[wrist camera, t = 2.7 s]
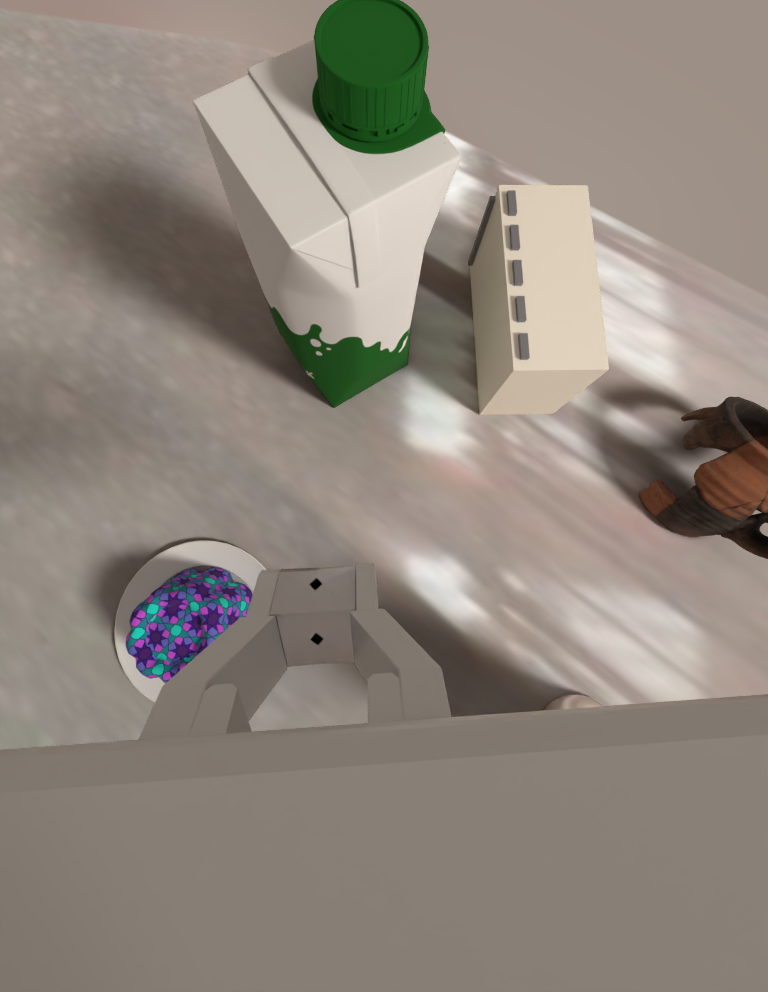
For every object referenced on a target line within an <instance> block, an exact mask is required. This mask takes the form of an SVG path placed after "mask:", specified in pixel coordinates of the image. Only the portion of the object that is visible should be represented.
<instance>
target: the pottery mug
mask: <svg viewBox="0 0 768 992" xmlns="http://www.w3.org/2000/svg"><path fill="white" fill-rule="evenodd" d="M681 419H682V420H683V421H688V420H694V419H698V420H702V421H700V422H699V423H697V424H696V425H695V426H694V427H693V429H692V430H691V432H689V433H687V434H686V435H685V436H684V448H685V449H686V450H691V449H694V448H697V447H699V446H700V447H704V448H706V447H708V448H716V449H720V450H724V451H727V452H728V453H727V454H724V455H722V456H720V457H718V458H716V459H714V460H711V461H709V462H706V463H704V464H701V465H700V466H699V468H698V469H697V470H696V472H695V474H694V479H695V483H696V486H693V487H692V488H691V489H690V490H689V491H688V492H687V493H686V494H685V495H684V496H683V497H681V498H677V497H676V496H675V495H673V494H672V493H671V492H670V491H669V490H668V489H667V487H666V486H665V485H664V483H663V482H662V481H661V480H656V481H654V482H652V483H651V484H650V485H649V487H647V488H646V489H644V490H643V491H642V492H640V493H639V496H640V498H641V500H642V502H643V504H644V505H645V506H646V507H647V509H648V510H649V511H650V512H651V513H652V514H653V515H654V516H655V517H656V518H657V519H658V520H659V521H660V522H661V523H663V524H664V525H665V526H666V527H667V528H669V529H671V530H673V531H674V532H675V533H678V534H680V535H683V536H688V537H699V536H709V535H721V536H722V537H725V538H728V539H731V540H732V541H734V542H735V543H736V544H738V545H739V546H740V547H742V548H743V549H745V550H747V551H749V552H751V553H753V554H755V555H757V556H760V557H763V558H766V559H768V537H767V536H765V535H763V534H762V533H761V532H760V530H759V529H760V526H761V525H762V524H763V523H768V410H767V409H765V408H763V407H761V406H760V405H758V404H756V403H754V402H751V401H749V400H745V399H743V398H740V397H728V398H727V399H725V401H724V402H723V403H722V404H720V405H719V406H718V407H708V408H703V409H699V410H696V411H693V412H690V413H688V414H687V415H685V416H683V417H682V418H681ZM755 510H758V511H760V512H762V513H759V514H755V515H752V514H753V512H754V511H755ZM750 515H751V516H750Z"/></svg>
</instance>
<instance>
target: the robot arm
mask: <svg viewBox="0 0 768 992" xmlns="http://www.w3.org/2000/svg"><path fill="white" fill-rule="evenodd" d="M349 662H354V664H355V666H356V667H357V669H358V670H359V672H360V673H361V675H362V676H363V678H364V679H365V681H366V682H367V684H368V723H365V724H351V725H337V726H323V727H310V728H296V729H282V730H268V731H254V732H252V731H251V728H250V725H249V722H248V721H249V720H250V719H251V717H252V716H253V715H254V713H255V712H256V711H257V709H258V708H259V706H260V705H261V704H262V702H263V701H264V700H265V698H266V697H267V696H268V694H269V693H270V692H271V690H272V689H273V687H274V686H275V685H276V683H277V682H278V681H279V679H280V678H281V677H282V675H283V674H284V672H285V671H286V670H287V667H290V666H301V665H311V664H324V663H349ZM0 992H768V694H765V695H751V696H738V697H725V698H711V699H697V700H683V701H669V702H655V703H641V704H627V705H613V706H600V707H586V708H572V709H558V710H544V711H530V712H516V713H502V714H488V715H474V716H460V717H451V712H450V707H449V702H448V697H447V692H446V687H445V683H444V678H443V673H442V668H441V667H440V666H439V665H438V664H437V663H436V662H435V661H434V660H433V659H432V658H431V657H430V656H429V655H428V654H427V653H426V651H425V650H424V649H423V648H422V647H421V646H420V645H419V644H418V643H417V642H416V641H415V640H414V639H413V638H412V637H411V636H410V635H409V634H408V633H407V632H406V631H405V630H404V629H403V628H402V627H401V626H400V625H399V624H398V622H397V621H396V620H395V619H394V618H393V617H392V616H391V615H390V614H389V613H388V612H387V611H386V610H385V609H378V593H377V578H376V566H375V564H363V565H355V566H339V567H324V568H298V569H281V570H262V571H261V572H260V573H259V575H258V578H257V582H256V585H255V588H254V592H253V595H252V598H251V602H250V605H249V609H248V612H247V615H246V617H240V618H239V619H238V620H237V621H236V622H235V623H233V624H232V625H231V626H230V627H229V628H228V629H227V630H225V631H224V632H223V633H222V634H221V635H220V636H219V637H218V638H216V639H215V640H214V641H213V642H212V643H211V644H210V645H208V646H207V647H206V648H205V649H204V650H203V651H202V652H201V653H199V654H198V655H197V656H196V657H195V658H194V659H193V660H192V661H190V662H189V663H188V664H187V665H186V666H185V667H184V668H182V669H181V670H180V671H179V672H178V673H177V674H176V675H175V676H173V677H172V678H171V679H170V680H169V681H168V682H167V683H165V684H164V685H163V686H162V688H161V690H160V693H159V695H158V697H157V699H156V702H155V704H154V706H153V708H152V711H151V713H150V715H149V717H148V720H147V722H146V724H145V727H144V729H143V731H142V733H141V736H140V738H139V740H129V741H115V742H102V743H88V744H74V745H60V746H46V747H33V748H19V749H5V750H0Z"/></svg>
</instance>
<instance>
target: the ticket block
mask: <svg viewBox="0 0 768 992" xmlns="http://www.w3.org/2000/svg"><path fill="white" fill-rule="evenodd" d="M589 202H590V201H589V192H588V186H581V185H573V186H572V185H569V186H567V185H563V186H562V185H499V186H498V189H497V192H496V195H495V196H490V198H489V201H488V204H487V207H486V210H485V213H484V216H483V219H482V222H481V225H480V228H479V231H478V234H477V237H476V240H475V243H474V246H473V249H472V252H471V255H470V258H469V261H468V266H470V279H471V294H472V309H473V324H474V339H475V355H476V370H477V385H478V400H479V415H501V414H553V413H554V412H555V411H557V410H558V409H559V408H560V407H562V406H563V405H564V404H566V403H567V402H568V401H569V400H571V399H572V398H573V397H574V396H576V395H577V394H578V393H580V392H581V391H582V390H583V389H585V388H586V387H587V386H588V385H590V384H591V383H592V382H594V381H595V380H596V379H597V378H599V377H600V376H601V375H603V374H604V373H605V372H606V371H608V370H609V366H608V358H607V349H606V340H605V332H604V323H603V314H602V306H601V297H600V288H599V279H598V271H597V262H596V253H595V245H594V236H593V227H592V219H591V210H590V203H589Z"/></svg>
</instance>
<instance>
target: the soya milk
mask: <svg viewBox="0 0 768 992" xmlns="http://www.w3.org/2000/svg"><path fill="white" fill-rule="evenodd" d="M428 49H429V46H428V35H427V31H426V28H425V26H424V24H423V22H422V20H421V18H420V17H419V16H418V14H417V13H416V12H415V11H414V10H413V9H412V8H411V7H409V6H408V5H407V4H405V3H404V2H402V1H400V0H338V1H336V2H335V3H333V4H332V5H331V6H329V7H328V8H327V9H326V10H325V11H324V13H323V14H322V15H321V17H320V19H319V21H318V23H317V26H316V29H315V36H314V40H313V41H310V42H308V43H306V44H304V45H302V46H299V47H297V48H296V49H293V50H291V51H289V52H287V53H284V54H282V55H280V56H278V57H276V58H273V57H272V58H268V59H266V60H264V61H261V62H259V63H257V64H255V65H253V66H251V67H250V68H248V75H246V76H244V77H242V78H239V79H237V80H235V81H233V82H231V83H229V84H227V85H224V86H222V87H220V88H218V89H216V90H214V91H212V92H210V93H207V94H205V95H203V96H201V97H199V98H197V99H195V100H193V103H194V106H195V108H196V111H197V114H198V116H199V119H200V122H201V125H202V127H203V130H204V133H205V136H206V139H207V141H208V144H209V147H210V150H211V153H212V155H213V158H214V161H215V164H216V167H217V169H218V172H219V175H220V178H221V181H222V184H223V187H224V189H225V192H226V195H227V198H228V201H229V204H230V207H231V210H232V212H233V215H234V218H235V221H236V224H237V227H238V229H239V232H240V235H241V238H242V240H243V243H244V245H245V248H246V250H247V253H248V255H249V258H250V260H251V263H252V265H253V268H254V270H255V273H256V275H257V278H258V280H259V283H260V285H261V288H262V290H263V293H264V295H265V298H266V300H267V303H268V305H269V308H270V310H271V313H272V315H273V318H274V320H275V323H276V325H277V328H278V330H279V332H280V334H281V336H282V337H283V339H284V340H285V342H286V344H287V345H288V347H289V348H290V350H291V351H292V353H293V354H294V356H295V358H296V359H297V361H298V362H299V364H300V365H301V367H302V368H303V369H304V371H305V372H306V373H307V375H308V376H309V377H310V378H311V380H312V381H313V382H314V384H315V385H316V386H317V387H318V389H319V390H320V391H321V392H322V394H323V395H324V396H325V397H326V399H327V400H328V401H329V403H330V404H331V405H332V406H333V408H335V407H336V406H338V405H340V404H341V403H343V402H345V401H347V400H348V399H350V398H352V397H353V396H355V395H357V394H358V393H360V392H362V391H364V390H365V389H367V388H369V387H370V386H372V385H374V384H375V383H377V382H379V381H380V380H382V379H384V378H386V377H387V376H389V375H391V374H392V373H394V372H396V371H397V370H399V369H401V368H403V367H404V366H406V365H408V355H409V340H410V326H411V321H412V315H413V309H414V304H415V298H416V293H417V287H418V282H419V276H420V271H421V265H422V259H423V254H424V249H425V245H426V243H427V240H428V237H429V235H430V232H431V230H432V227H433V225H434V223H435V220H436V218H437V215H438V213H439V210H440V208H441V205H442V203H443V200H444V198H445V196H446V193H447V191H448V188H449V186H450V183H451V181H452V179H453V176H454V174H455V171H456V169H457V166H458V164H459V162H460V159H461V156H460V154H459V153H458V151H457V150H456V148H455V147H454V146H453V144H452V143H451V142H450V141H449V140H448V139H447V137H446V136H445V135H444V133H445V129H444V127H443V126H442V125H441V123H440V122H439V121H438V119H437V118H436V117H435V116H434V115H433V114H432V112H431V107H430V102H429V99H428V97H427V94H426V93H425V91H424V85H425V76H426V67H427V58H428Z"/></svg>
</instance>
